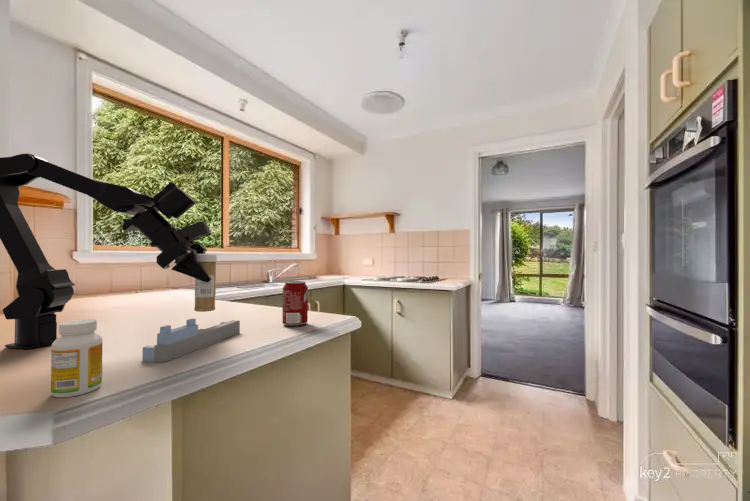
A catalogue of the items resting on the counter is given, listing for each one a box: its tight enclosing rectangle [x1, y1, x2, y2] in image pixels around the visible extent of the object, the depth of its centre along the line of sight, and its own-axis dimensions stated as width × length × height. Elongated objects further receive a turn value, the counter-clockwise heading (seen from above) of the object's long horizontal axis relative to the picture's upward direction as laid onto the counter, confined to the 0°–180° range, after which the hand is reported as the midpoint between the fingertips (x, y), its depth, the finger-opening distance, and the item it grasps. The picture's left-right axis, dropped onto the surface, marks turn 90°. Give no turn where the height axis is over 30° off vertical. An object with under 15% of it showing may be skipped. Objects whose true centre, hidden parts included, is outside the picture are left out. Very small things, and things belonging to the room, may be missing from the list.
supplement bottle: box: [50, 318, 103, 398], centre depth 46 cm, size 5×5×10 cm
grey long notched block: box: [141, 318, 241, 364], centre depth 70 cm, size 4×23×6 cm, turn 170°
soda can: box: [281, 280, 309, 327], centre depth 91 cm, size 7×7×12 cm
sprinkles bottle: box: [193, 253, 218, 313], centre depth 77 cm, size 5×5×14 cm
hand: (211, 280), depth 78 cm, fingers closed on sprinkles bottle, 4 cm apart
